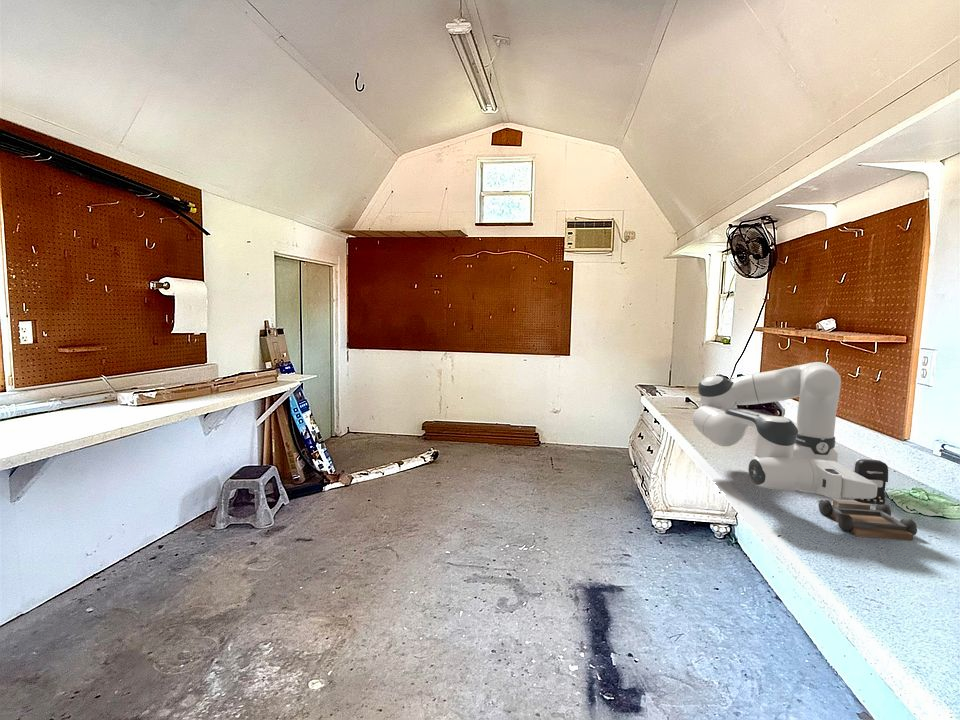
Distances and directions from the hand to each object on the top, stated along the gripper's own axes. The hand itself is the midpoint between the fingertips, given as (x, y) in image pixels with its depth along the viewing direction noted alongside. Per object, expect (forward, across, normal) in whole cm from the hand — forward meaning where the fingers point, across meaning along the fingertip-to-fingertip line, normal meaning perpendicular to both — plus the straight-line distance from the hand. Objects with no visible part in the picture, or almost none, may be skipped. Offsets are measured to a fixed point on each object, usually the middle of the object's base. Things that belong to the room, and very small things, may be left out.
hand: (874, 479), depth 132 cm
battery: (-1, +1, -6) cm, 7 cm away
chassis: (-1, -1, -13) cm, 13 cm away
